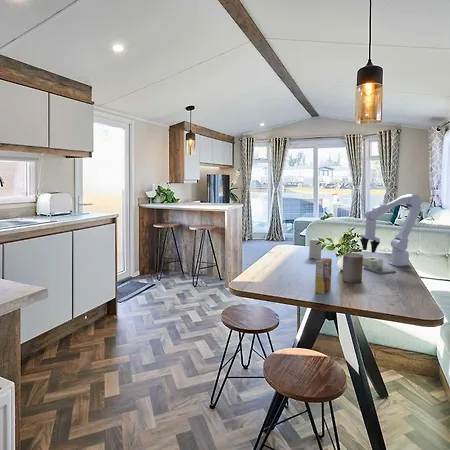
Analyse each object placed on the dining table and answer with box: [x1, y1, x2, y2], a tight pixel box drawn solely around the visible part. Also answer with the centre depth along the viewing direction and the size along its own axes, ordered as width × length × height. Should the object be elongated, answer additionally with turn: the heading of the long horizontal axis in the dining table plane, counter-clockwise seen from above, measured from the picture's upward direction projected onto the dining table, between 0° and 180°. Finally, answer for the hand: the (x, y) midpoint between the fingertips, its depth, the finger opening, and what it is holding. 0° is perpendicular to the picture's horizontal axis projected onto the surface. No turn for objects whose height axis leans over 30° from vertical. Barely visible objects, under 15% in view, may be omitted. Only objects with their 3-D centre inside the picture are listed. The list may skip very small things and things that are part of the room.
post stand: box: [363, 258, 397, 275], centre depth 209 cm, size 12×12×6 cm
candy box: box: [314, 257, 333, 295], centre depth 170 cm, size 9×4×15 cm, turn 140°
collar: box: [362, 256, 379, 267], centre depth 222 cm, size 8×8×4 cm
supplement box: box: [308, 238, 322, 260], centre depth 240 cm, size 7×7×13 cm
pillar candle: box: [341, 252, 364, 284], centre depth 188 cm, size 10×10×15 cm
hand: (368, 251), depth 225 cm, fingers open, 7 cm apart
